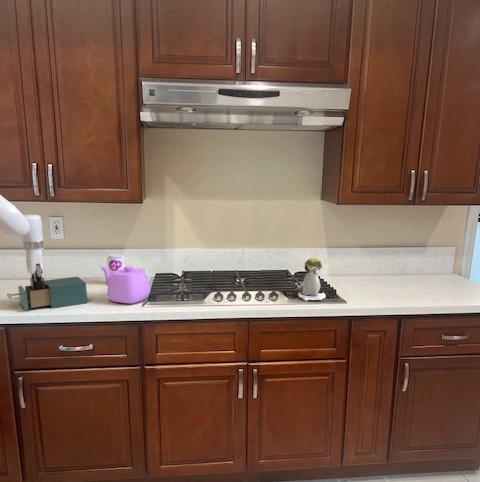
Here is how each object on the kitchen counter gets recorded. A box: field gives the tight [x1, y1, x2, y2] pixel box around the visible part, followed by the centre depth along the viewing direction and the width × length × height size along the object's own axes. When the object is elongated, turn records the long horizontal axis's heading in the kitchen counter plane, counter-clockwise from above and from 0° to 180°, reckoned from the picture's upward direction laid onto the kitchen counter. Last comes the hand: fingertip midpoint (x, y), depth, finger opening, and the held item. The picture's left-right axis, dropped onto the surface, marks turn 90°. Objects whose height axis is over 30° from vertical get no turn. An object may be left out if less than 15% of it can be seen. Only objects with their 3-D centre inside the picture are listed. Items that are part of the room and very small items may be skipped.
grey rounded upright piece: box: [297, 257, 327, 302], centre depth 211 cm, size 12×13×18 cm
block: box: [29, 277, 45, 291], centre depth 192 cm, size 5×5×5 cm
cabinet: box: [44, 276, 88, 309], centre depth 200 cm, size 15×13×9 cm
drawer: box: [6, 285, 51, 311], centre depth 193 cm, size 18×11×7 cm, turn 124°
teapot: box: [99, 265, 151, 305], centre depth 206 cm, size 23×21×15 cm
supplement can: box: [106, 253, 126, 275], centre depth 228 cm, size 8×8×15 cm
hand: (37, 288), depth 193 cm, fingers closed on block, 4 cm apart
